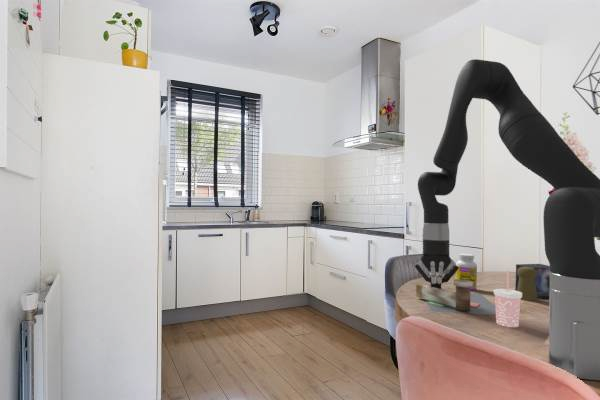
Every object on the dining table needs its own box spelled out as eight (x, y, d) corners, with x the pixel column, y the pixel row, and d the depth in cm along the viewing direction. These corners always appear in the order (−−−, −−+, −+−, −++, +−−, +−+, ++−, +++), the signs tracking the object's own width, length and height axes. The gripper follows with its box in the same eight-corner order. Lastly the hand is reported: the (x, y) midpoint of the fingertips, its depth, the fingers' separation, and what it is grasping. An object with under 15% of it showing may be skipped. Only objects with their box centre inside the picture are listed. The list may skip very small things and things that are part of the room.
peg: (476, 310, 97) (476, 281, 98) (465, 312, 95) (466, 283, 95) (423, 295, 112) (423, 271, 112) (412, 297, 110) (413, 272, 110)
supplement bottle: (456, 292, 124) (457, 255, 124) (454, 288, 130) (454, 252, 130) (478, 294, 122) (478, 256, 122) (474, 290, 128) (475, 253, 128)
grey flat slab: (507, 320, 94) (507, 314, 94) (431, 314, 98) (431, 309, 98) (480, 297, 118) (480, 292, 118) (419, 293, 121) (419, 289, 121)
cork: (541, 306, 109) (542, 269, 109) (519, 304, 110) (520, 268, 110) (533, 300, 115) (533, 266, 115) (512, 299, 116) (512, 265, 116)
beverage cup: (487, 326, 89) (487, 269, 90) (504, 323, 92) (504, 268, 92) (510, 334, 84) (511, 273, 84) (527, 331, 86) (528, 272, 86)
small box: (531, 300, 116) (531, 267, 116) (514, 295, 122) (514, 264, 122) (556, 298, 118) (557, 266, 118) (538, 293, 125) (539, 263, 125)
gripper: (414, 238, 107) (414, 297, 107) (462, 239, 104) (462, 300, 104) (411, 236, 114) (411, 291, 114) (456, 237, 112) (456, 294, 111)
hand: (435, 295), depth 109 cm, fingers closed
